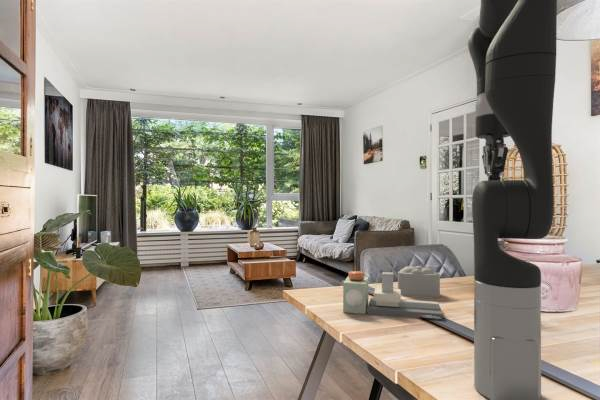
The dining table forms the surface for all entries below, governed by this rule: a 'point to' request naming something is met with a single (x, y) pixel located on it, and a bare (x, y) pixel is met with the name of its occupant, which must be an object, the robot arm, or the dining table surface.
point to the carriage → (387, 292)
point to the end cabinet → (355, 295)
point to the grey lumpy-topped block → (419, 282)
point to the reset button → (356, 275)
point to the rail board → (406, 309)
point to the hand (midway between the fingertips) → (494, 193)
